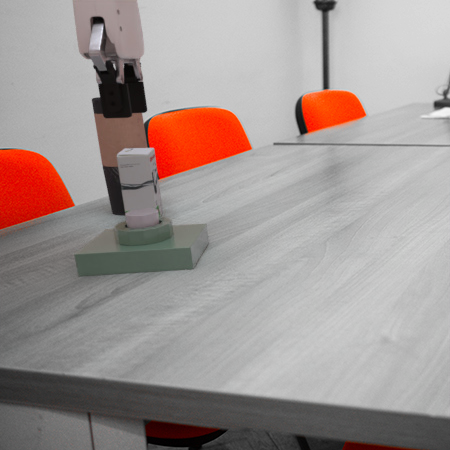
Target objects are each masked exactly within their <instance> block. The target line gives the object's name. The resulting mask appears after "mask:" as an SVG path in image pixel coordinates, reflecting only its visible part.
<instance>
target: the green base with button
mask: <svg viewBox="0 0 450 450" xmlns="http://www.w3.org/2000/svg"><path fill="white" fill-rule="evenodd" d="M159 222H160V224H158V225H155V226H152V227H146V228H135V229H132V228H127V222H126V220H124V221H122V222H119V223H117V224H116V225H114V227H113V228H107V229H104V230H103V231H101V232H100V233H99V234H98V235H97V236H95V237H94V238H93V239H92V240H90V241H89V242H88V243H87V244H85V245H84V246H83V247H82V248H81V249H79V250H78V251H76V252H75V253H74V255H73V256H74V260H75V265H76V266H75V267H76V270H77V276H78V277H88V276H89V277H91V276H93V277H95V276H106V275H107V276H108V275H123V274H125V275H126V274H137V273H140V274H141V273H155V272H170V271H186V270H185V269H187V270H194V269H193V268H195V267H196V265H197V264H198V262H199V260H200V258H201V257H202V255H203V253H204V252H205V250H206V248H207V246H208V245H209V243H210V239H209V232H208V224H207V223H193V224H192V223H191V224H176V225H175V224H174V225H173V221H172V219H171V218H170V217H166V216H161V217H159ZM196 263H197V264H196Z"/></svg>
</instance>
